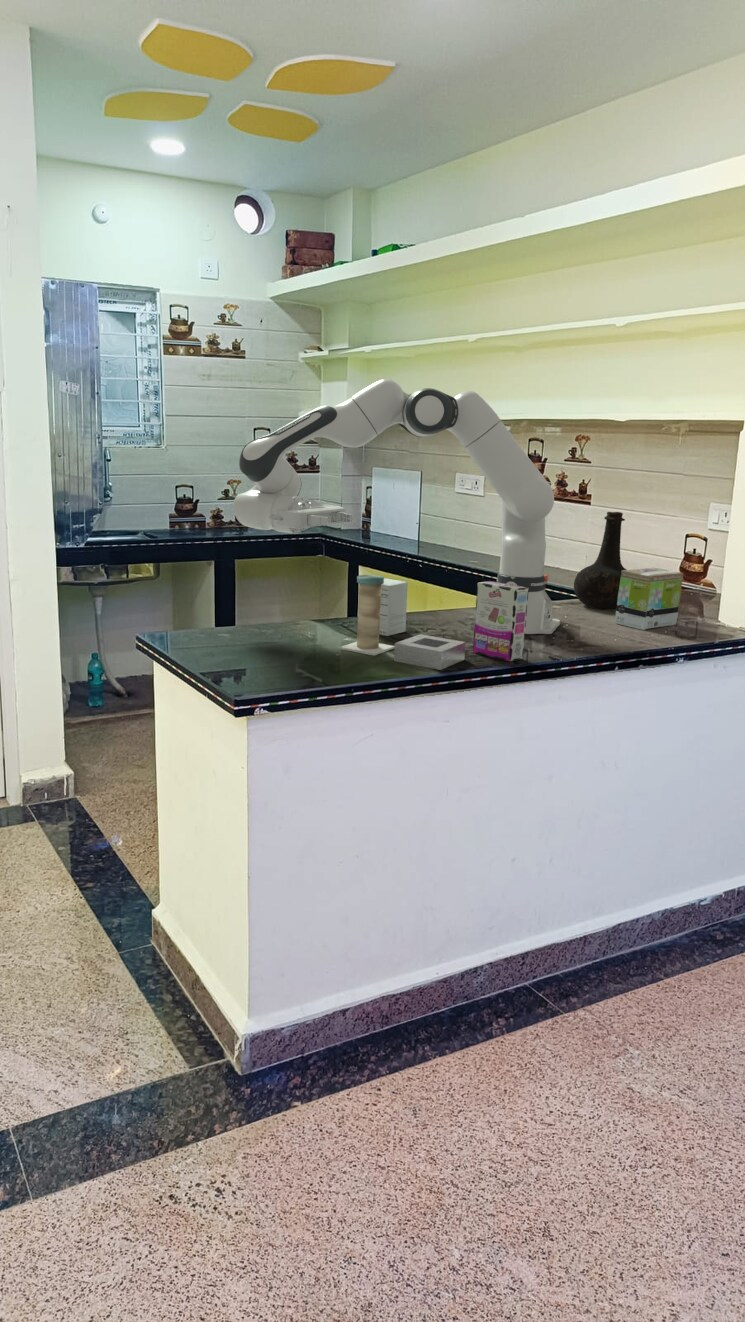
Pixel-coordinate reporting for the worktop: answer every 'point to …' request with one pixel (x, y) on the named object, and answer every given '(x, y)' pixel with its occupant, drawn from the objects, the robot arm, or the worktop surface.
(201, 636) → the worktop surface
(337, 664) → the worktop surface
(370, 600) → the birch stopper
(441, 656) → the metal collar
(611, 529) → the glass bottle
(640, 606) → the tea box
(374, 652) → the white mat
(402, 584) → the supplement box
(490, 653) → the candy bar box
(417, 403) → the robot arm
